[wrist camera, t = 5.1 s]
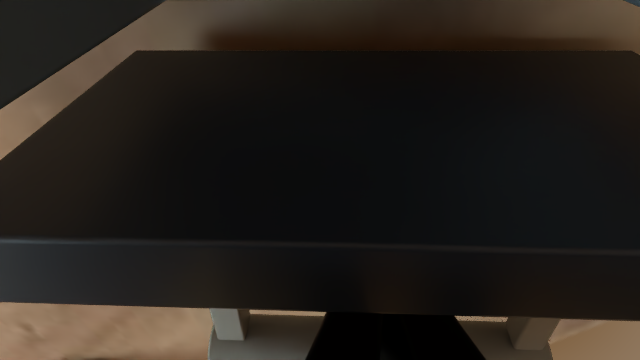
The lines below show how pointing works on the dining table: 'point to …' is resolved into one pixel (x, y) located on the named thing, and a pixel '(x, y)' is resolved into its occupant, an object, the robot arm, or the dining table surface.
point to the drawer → (323, 185)
